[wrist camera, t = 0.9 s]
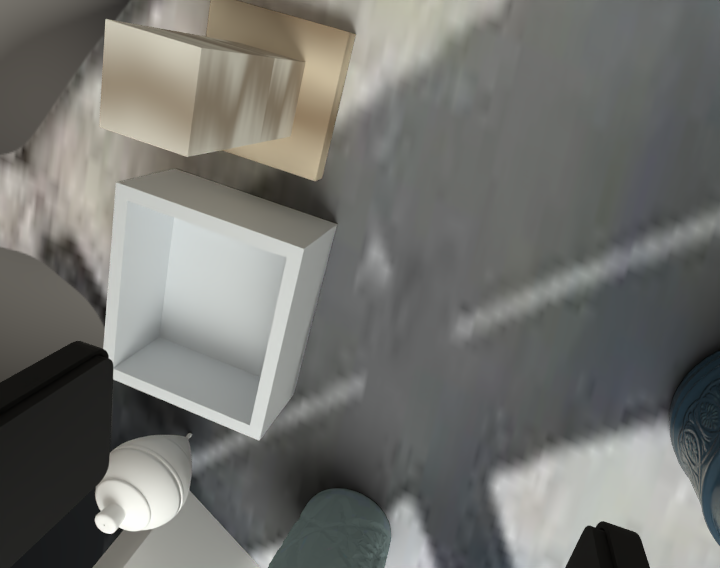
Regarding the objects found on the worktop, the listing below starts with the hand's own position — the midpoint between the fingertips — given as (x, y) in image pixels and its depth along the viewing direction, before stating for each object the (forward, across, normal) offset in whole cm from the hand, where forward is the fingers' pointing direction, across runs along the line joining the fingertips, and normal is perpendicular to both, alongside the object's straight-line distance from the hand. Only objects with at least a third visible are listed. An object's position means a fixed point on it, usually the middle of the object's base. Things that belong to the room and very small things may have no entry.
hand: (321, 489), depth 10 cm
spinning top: (+31, +18, +28) cm, 46 cm away
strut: (+29, +15, -5) cm, 33 cm away
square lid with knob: (+30, +15, -5) cm, 34 cm away
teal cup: (+31, +2, +32) cm, 45 cm away
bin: (+31, +16, +11) cm, 36 cm away
